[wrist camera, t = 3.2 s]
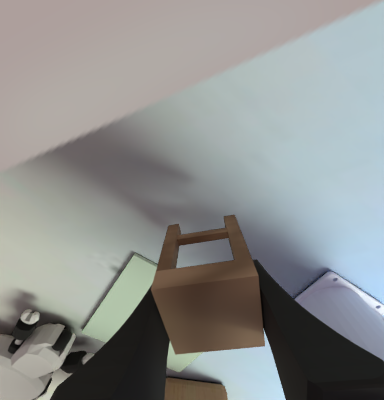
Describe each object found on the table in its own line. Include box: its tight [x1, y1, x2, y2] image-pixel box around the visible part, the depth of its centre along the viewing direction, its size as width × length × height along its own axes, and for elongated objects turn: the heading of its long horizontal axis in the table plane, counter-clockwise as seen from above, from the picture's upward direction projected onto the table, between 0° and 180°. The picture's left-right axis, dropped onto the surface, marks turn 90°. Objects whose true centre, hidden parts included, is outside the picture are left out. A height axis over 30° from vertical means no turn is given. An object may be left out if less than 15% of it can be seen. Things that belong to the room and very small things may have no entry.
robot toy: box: [0, 309, 95, 400], centre depth 25 cm, size 12×4×15 cm
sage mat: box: [82, 253, 203, 373], centre depth 24 cm, size 15×15×1 cm
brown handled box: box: [151, 215, 265, 355], centre depth 13 cm, size 5×5×6 cm
